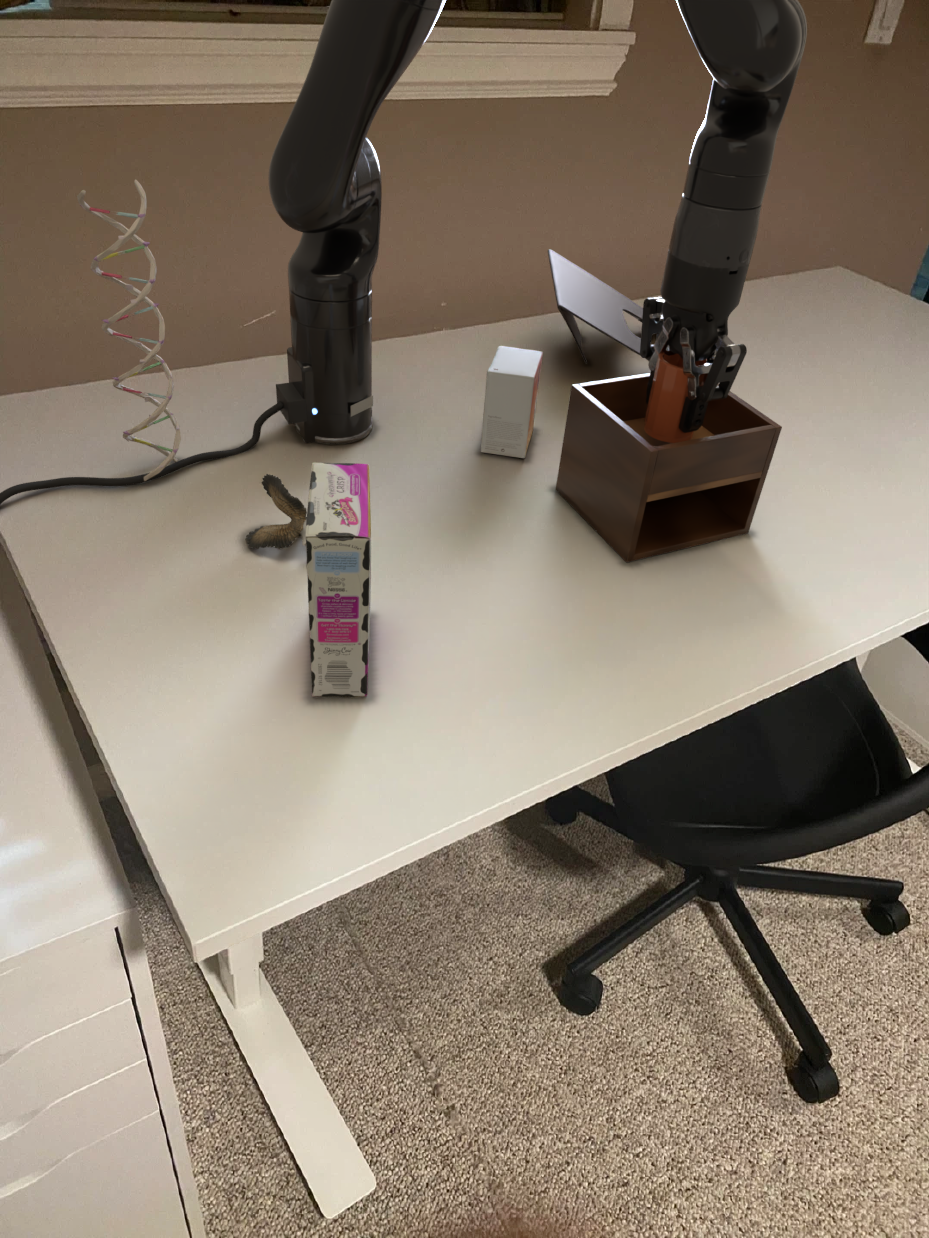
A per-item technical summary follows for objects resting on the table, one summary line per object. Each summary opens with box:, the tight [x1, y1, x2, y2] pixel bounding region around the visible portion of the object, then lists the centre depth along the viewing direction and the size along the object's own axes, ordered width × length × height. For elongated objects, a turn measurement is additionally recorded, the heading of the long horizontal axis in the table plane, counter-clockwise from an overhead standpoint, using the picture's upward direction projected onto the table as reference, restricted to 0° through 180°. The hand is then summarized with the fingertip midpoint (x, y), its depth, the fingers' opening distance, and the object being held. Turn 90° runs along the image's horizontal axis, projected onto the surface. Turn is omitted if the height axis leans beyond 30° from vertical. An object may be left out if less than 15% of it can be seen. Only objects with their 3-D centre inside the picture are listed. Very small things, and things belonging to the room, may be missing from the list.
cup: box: [644, 353, 707, 443], centre depth 93 cm, size 5×5×8 cm
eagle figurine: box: [245, 473, 307, 550], centre depth 91 cm, size 8×7×9 cm
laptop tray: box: [547, 248, 647, 364], centre depth 134 cm, size 23×23×9 cm
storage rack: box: [555, 372, 783, 563], centre depth 98 cm, size 16×15×13 cm
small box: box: [480, 345, 544, 459], centre depth 109 cm, size 8×6×10 cm
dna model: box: [76, 179, 182, 481], centre depth 92 cm, size 7×6×30 cm
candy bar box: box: [305, 462, 372, 699], centre depth 75 cm, size 11×5×16 cm, turn 5°
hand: (671, 416), depth 95 cm, fingers closed on cup, 5 cm apart
